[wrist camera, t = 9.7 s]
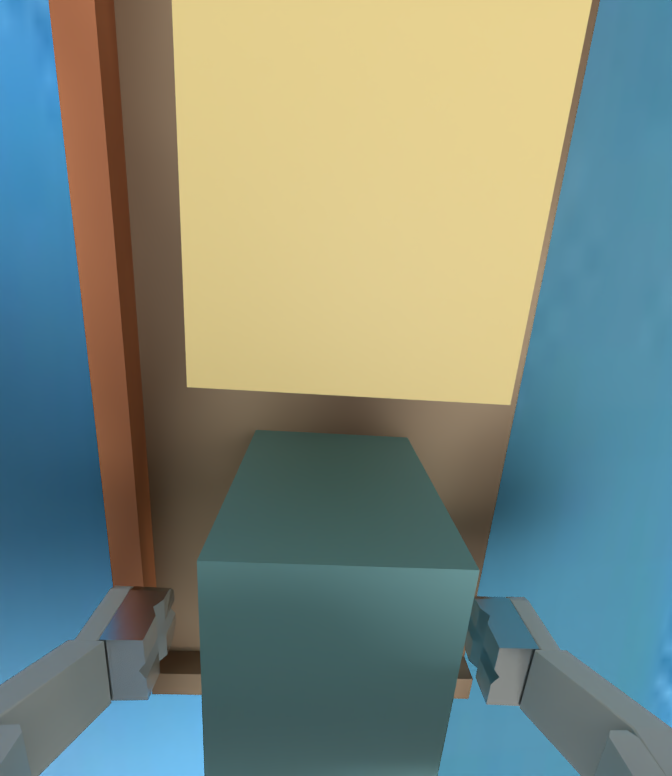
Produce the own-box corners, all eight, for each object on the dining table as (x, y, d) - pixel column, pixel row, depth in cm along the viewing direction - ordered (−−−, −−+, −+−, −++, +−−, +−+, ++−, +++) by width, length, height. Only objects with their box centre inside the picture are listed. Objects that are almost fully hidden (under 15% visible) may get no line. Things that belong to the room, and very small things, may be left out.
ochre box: (250, 333, 11) (176, 386, 6) (252, 9, 9) (137, -438, 4) (417, 344, 12) (510, 405, 6) (457, 31, 10) (663, -352, 4)
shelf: (153, 634, 16) (124, 693, 14) (96, -86, 10) (26, -200, 8) (448, 642, 17) (468, 698, 15) (576, -31, 10) (647, -118, 8)
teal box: (249, 624, 14) (200, 853, 9) (251, 429, 12) (188, 560, 6) (382, 627, 15) (421, 851, 9) (407, 437, 13) (479, 569, 7)
